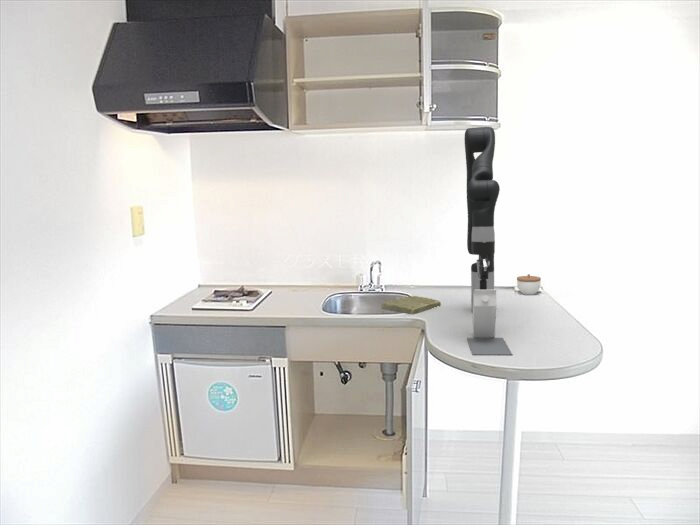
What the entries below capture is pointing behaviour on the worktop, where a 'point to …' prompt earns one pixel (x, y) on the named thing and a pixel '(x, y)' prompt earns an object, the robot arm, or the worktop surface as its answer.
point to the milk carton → (484, 313)
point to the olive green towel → (410, 304)
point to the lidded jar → (528, 284)
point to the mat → (488, 346)
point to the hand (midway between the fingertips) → (483, 291)
